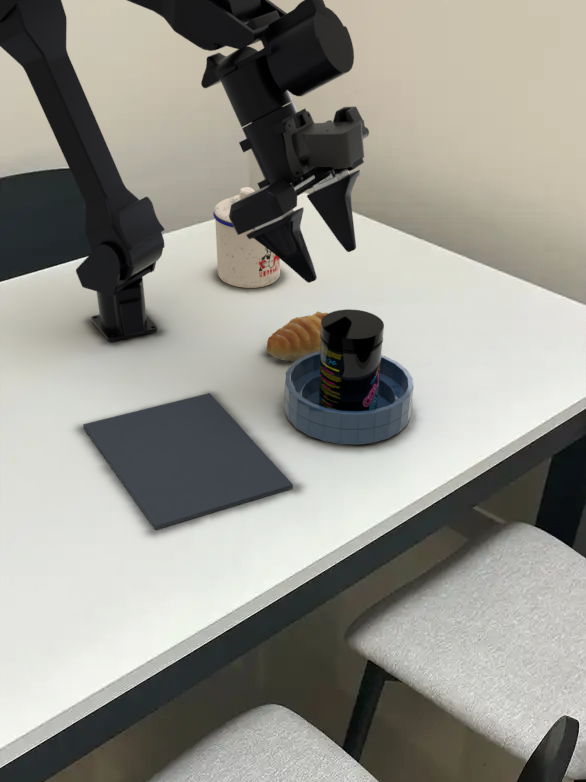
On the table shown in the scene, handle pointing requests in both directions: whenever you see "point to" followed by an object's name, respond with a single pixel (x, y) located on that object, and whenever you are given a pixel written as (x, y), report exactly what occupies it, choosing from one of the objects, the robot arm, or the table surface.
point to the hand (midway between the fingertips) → (332, 265)
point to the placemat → (185, 459)
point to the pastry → (296, 338)
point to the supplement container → (350, 360)
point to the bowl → (347, 423)
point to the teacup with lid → (242, 251)
